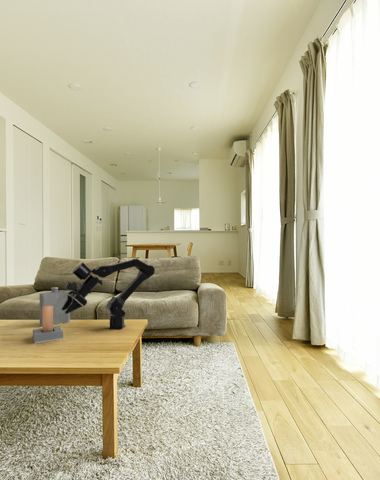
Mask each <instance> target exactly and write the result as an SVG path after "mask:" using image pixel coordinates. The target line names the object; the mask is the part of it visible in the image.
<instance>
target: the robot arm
mask: <svg viewBox="0 0 380 480" xmlns="http://www.w3.org/2000/svg"><path fill="white" fill-rule="evenodd" d="M130 268H135V269H137V270H138V272H137V275H136V276H135V277H134V279H133V280H132V281H131V282H130V283H129V284H128V285H127V286H126V287H125V288H124V289H123V290H122V292H121V293H119V295H118V296H112V297H111V298H110V300H107V304H106V310H107V312H109V314H110V317H109V330H123V328H125V327H126V325H125V317H126V316H125V315H126V312H125V311H124V310H123V308H124V305H125V304H126V303H125V302H126V301H127V300H128V299H129V298H130V296H132V294H133V293H134V292H135V291H136V290H137V289H138V288H139V287H140V285H141V284H143V283H144V282H145V281H147V280H148V279H150V278H151V277H152V276H153V275H155V272H156V270H155V267H154V266H153V265H151V264H148V263H145V262H143V261H141V260H140V259H138V258H132V259H130V260H126V261H125V260H124V261H121V262H118V263H114V264H107V265H105V264H104V265H103V264H102V265H98V266H96V267H95V268H91V269H90V268H89V267H88V266H87V265H86V264H85V263H84V262H81V263H80V264H78V265H77V266H76V267H75V268H74V269H73V270H72V271H71V273H72V274H73V275H74V276H75V277H76V278H78V279H79V280H80V281H82V280H83V282H82V283H80V284H78V283H77V282H76V281H72V282H70V281H67V282H66V284H65V286H64V289H67V290H68V291H69V292H68V294H69V295H68V294H67V301H66V302H65V304H64V306H63V308H62V310H63V311H64V310H65V309H67V310H66V311H65V313H66V314H68V313H70V314H71V313H72V312H74V311H76V310H79V308H83V307H85V305H87V304H88V300H87V299H86V297H88V295H90V294H92V290H93V289H95V287H97V285H100V286H103V279H104V278H106V277H108V276H110V275H112V274H115V273H116V272H120V271H123V270H126V269H130ZM93 275H94V276H93ZM99 278H101V279H99ZM102 278H103V279H102Z"/></svg>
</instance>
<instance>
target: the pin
mask: <svg viewBox="0 0 380 480" xmlns="http://www.w3.org/2000/svg"><path fill="white" fill-rule="evenodd" d="M53 327H54V325H53V306H43V327H42V328H43V332H50V331H53Z"/></svg>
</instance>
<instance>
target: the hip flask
mask: <svg viewBox="0 0 380 480" xmlns="http://www.w3.org/2000/svg"><path fill="white" fill-rule="evenodd" d="M50 289H51V291H50V292H48V291H47V292H40V293H39V327H40V328H43V306H53V326H54V324H55V325H61V324H60V323H62V324H67V323H71V312H70V313H68V314H66V313H65V311H66V310H67V309H65V310H64V311H63V310H62V308H63V306H64V304H65V302H66V301H67V294H68V292H69V291H70V290H65V289H64V290H59V287H55V286H54V287H53V286H52V287H51V288H50ZM68 295H69V294H68Z"/></svg>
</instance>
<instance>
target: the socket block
mask: <svg viewBox="0 0 380 480" xmlns="http://www.w3.org/2000/svg"><path fill="white" fill-rule="evenodd" d="M32 339H33V341H34V344H38V343H45V342H47V343H48V342H52V341H58V340H59V341H60V340H63V339H64V330H63V329H62V328H61V326H58V325H57V326H53V331H50V332H43V327H40V328H34V329H32Z"/></svg>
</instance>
